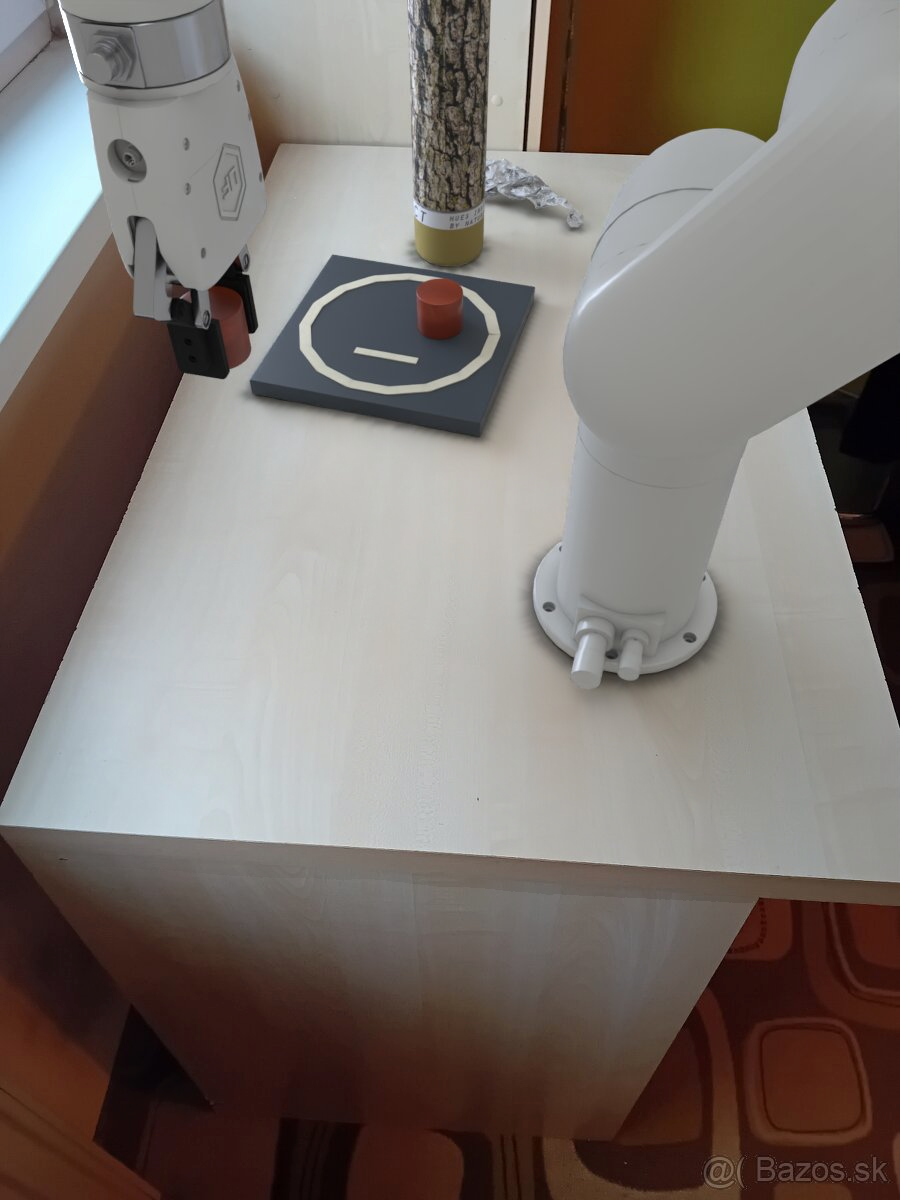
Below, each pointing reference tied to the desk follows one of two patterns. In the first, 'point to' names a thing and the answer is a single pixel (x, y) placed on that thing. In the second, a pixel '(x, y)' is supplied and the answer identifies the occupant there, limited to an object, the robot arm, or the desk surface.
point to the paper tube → (449, 126)
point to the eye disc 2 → (439, 308)
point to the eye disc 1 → (230, 323)
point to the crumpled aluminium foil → (524, 188)
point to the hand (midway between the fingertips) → (219, 348)
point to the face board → (394, 347)
